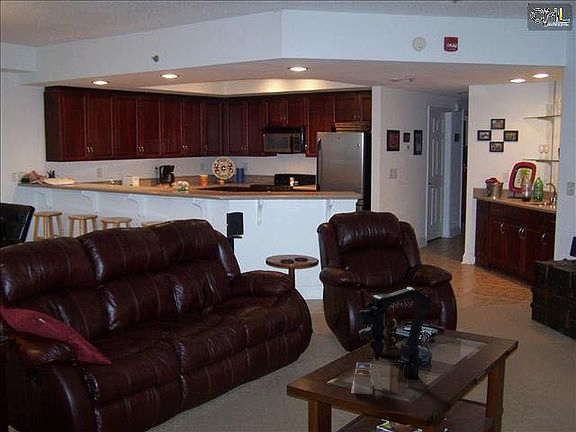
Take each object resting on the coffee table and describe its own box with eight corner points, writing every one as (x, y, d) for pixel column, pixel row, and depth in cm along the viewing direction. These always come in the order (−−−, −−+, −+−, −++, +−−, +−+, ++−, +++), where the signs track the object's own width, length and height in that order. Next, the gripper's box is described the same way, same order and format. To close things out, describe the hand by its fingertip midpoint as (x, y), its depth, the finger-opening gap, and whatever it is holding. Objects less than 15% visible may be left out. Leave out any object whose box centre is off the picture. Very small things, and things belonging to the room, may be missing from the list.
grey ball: (368, 367, 295) (360, 363, 296) (367, 369, 291) (359, 364, 292) (364, 375, 295) (356, 370, 296) (363, 377, 291) (355, 372, 292)
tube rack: (353, 379, 299) (354, 361, 298) (373, 381, 297) (374, 363, 296) (351, 394, 281) (351, 374, 280) (371, 396, 280) (372, 376, 279)
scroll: (382, 348, 348) (384, 311, 346) (408, 353, 341) (410, 316, 339) (371, 355, 336) (373, 317, 334) (398, 360, 328) (400, 322, 326)
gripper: (361, 317, 304) (360, 349, 305) (359, 328, 285) (358, 362, 287) (385, 318, 302) (384, 351, 303) (384, 329, 283) (383, 364, 285)
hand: (377, 356), depth 295 cm, fingers open, 9 cm apart
